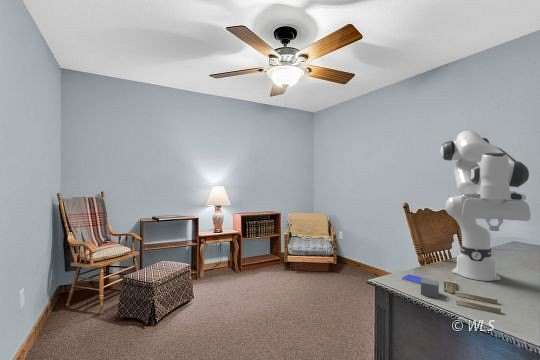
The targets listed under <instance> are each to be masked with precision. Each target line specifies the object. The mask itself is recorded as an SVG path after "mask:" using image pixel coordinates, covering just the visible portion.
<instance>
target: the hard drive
mask: <svg viewBox="0 0 540 360" xmlns="http://www.w3.org/2000/svg"><path fill="white" fill-rule="evenodd" d="M422 278H424V279H427V278H426V277H421V276H418V275H413V274H411V273H410V274H409V273H408V274H407V275H404V276H402V277H401V280H402V281H405V282H409V283H413V284H416V285H420V286H421V280H422Z"/></svg>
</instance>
